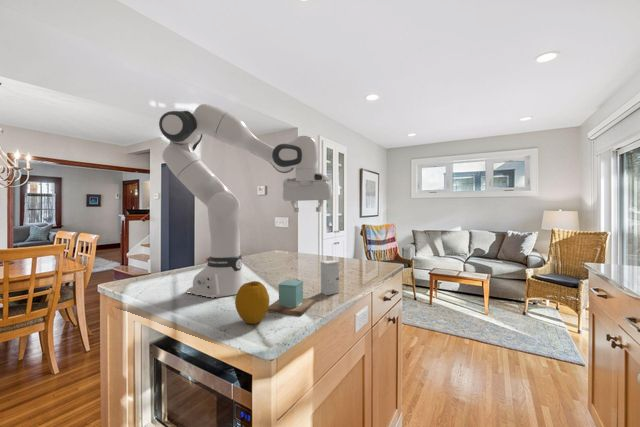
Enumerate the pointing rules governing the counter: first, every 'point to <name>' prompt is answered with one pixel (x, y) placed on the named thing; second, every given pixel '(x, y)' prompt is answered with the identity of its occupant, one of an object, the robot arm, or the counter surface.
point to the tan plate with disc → (291, 310)
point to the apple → (252, 302)
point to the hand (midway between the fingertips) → (307, 211)
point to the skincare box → (329, 277)
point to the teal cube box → (290, 293)
